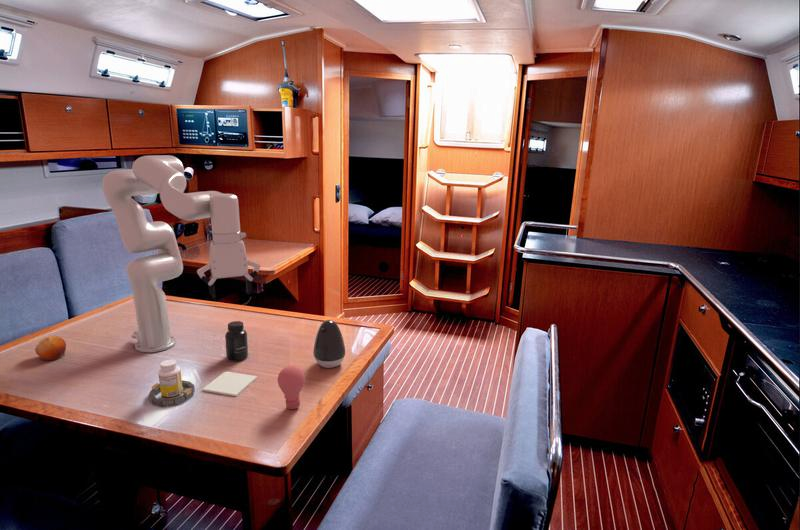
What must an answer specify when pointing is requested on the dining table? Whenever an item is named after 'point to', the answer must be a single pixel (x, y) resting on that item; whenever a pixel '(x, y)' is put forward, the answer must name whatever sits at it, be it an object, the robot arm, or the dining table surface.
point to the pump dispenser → (329, 345)
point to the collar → (171, 402)
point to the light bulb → (291, 385)
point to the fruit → (51, 348)
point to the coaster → (230, 383)
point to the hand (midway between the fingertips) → (231, 295)
